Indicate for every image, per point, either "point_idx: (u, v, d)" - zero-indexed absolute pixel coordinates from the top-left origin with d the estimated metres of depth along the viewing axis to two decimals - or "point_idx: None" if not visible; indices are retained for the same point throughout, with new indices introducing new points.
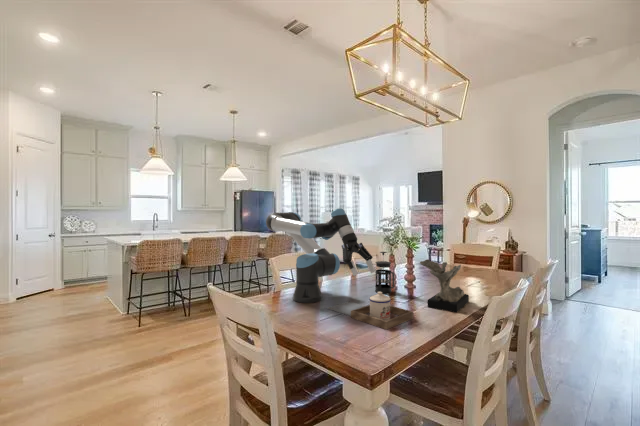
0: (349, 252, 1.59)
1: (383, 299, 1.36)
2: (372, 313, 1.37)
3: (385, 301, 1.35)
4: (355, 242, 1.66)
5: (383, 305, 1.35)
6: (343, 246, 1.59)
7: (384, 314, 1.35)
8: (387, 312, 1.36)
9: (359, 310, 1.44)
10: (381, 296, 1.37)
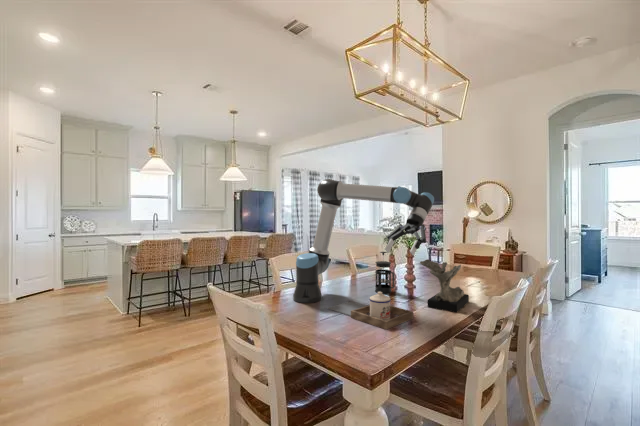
0: (417, 234, 1.50)
1: (383, 299, 1.36)
2: (372, 313, 1.37)
3: (385, 301, 1.35)
4: None
5: (383, 305, 1.35)
6: (424, 228, 1.50)
7: (384, 314, 1.35)
8: (387, 312, 1.36)
9: (359, 310, 1.44)
10: (381, 296, 1.37)
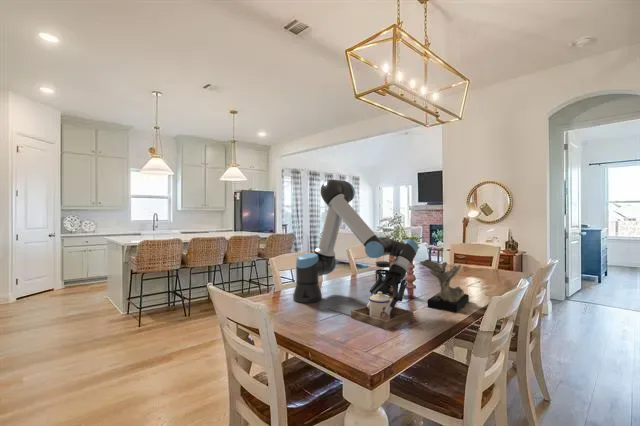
0: (397, 289, 1.41)
1: (383, 299, 1.36)
2: (372, 313, 1.37)
3: (385, 301, 1.35)
4: None
5: (383, 304, 1.35)
6: (405, 283, 1.41)
7: (383, 314, 1.35)
8: None
9: (359, 310, 1.44)
10: (381, 296, 1.38)
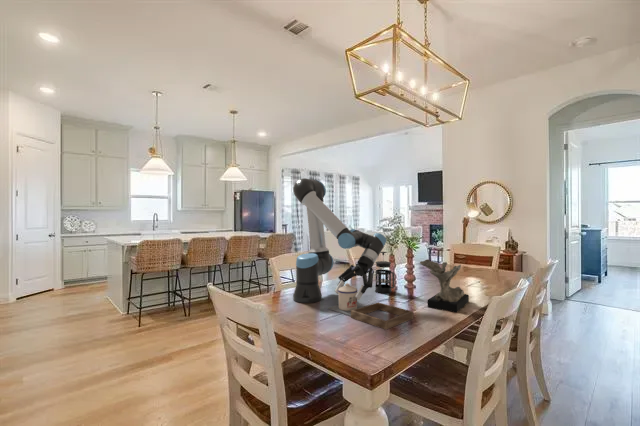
0: (366, 277, 1.54)
1: (349, 290, 1.49)
2: (340, 303, 1.50)
3: (351, 292, 1.48)
4: None
5: (349, 295, 1.48)
6: (372, 271, 1.54)
7: (350, 304, 1.48)
8: (353, 301, 1.49)
9: (359, 310, 1.44)
10: (348, 287, 1.50)
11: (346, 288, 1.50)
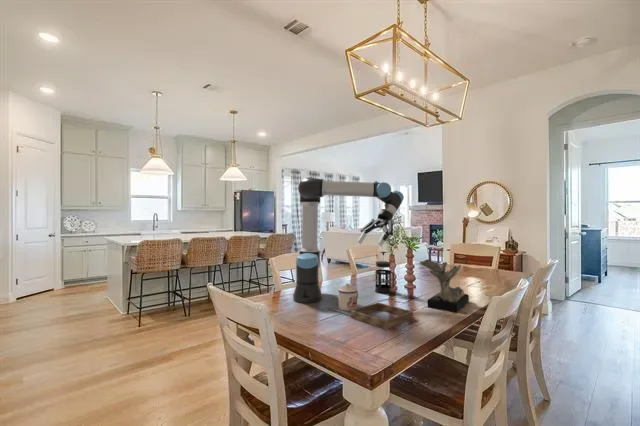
0: (386, 227, 1.69)
1: (350, 290, 1.49)
2: (340, 303, 1.50)
3: (351, 292, 1.48)
4: None
5: (349, 295, 1.48)
6: (392, 222, 1.69)
7: (350, 304, 1.48)
8: (354, 301, 1.49)
9: (359, 310, 1.44)
10: (348, 287, 1.50)
11: (346, 288, 1.50)
